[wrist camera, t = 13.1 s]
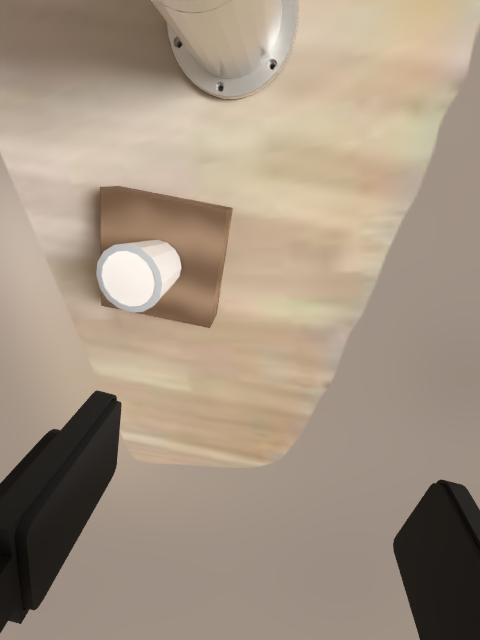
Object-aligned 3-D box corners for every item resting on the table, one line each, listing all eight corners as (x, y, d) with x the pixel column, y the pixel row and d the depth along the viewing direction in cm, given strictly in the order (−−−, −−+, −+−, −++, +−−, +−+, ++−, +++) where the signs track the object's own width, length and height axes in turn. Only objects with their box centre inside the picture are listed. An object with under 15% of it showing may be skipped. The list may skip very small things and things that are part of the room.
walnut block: (121, 186, 40) (100, 187, 35) (233, 207, 39) (226, 211, 35) (119, 292, 46) (101, 305, 41) (217, 312, 45) (209, 327, 40)
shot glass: (144, 298, 40) (113, 319, 33) (121, 243, 38) (83, 254, 31) (194, 284, 38) (172, 304, 31) (173, 226, 36) (144, 234, 29)
